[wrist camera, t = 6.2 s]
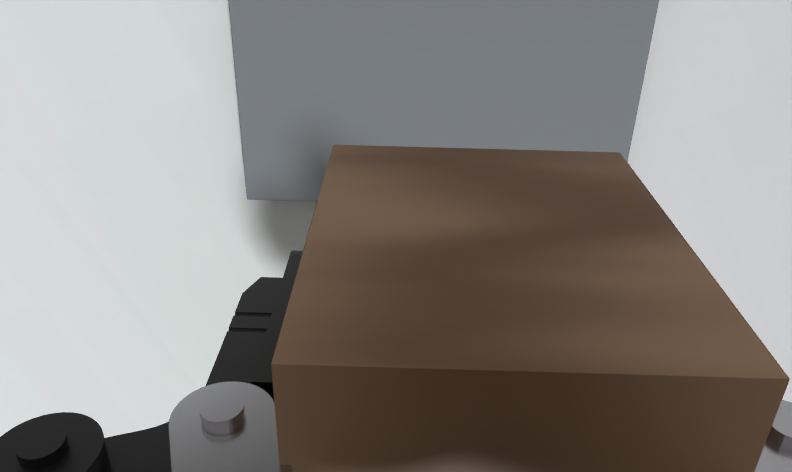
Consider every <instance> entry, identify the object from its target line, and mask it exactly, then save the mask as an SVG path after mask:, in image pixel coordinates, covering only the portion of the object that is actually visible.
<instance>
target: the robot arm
mask: <svg viewBox="0 0 792 472" xmlns="http://www.w3.org/2000/svg"><path fill="white" fill-rule="evenodd" d="M302 254H303V251H292V252H291V254H290V257H289V260H288V263H287V267H286V270H285V273H284V276H283V278H269V277H261V278H260V279H258V280H257V281H256V282H255V283H254V284H253V285H251V286H250V287H249V288H248V289H247V290H246V291H245V292H243V294H242V296H241V299H240V301H239V304H238V306H237V309H236V311H235V316H233V319H232V321H231V324H230V326H229V332H228V331H227V334H226V336H225V339H224V341H223V344H222V346H221V349H220V351H219V354H218V356H217V359H216V361H215V364H214V366H213V369H212V371H211V374H210V376H209V379H208V381H207V384H206V386H205V387H202V388H200V389H198V390H196V391H194V392H192V393H191V394H189V395H188V396H186V397H185V398H184V399H183V400H182V401H180V402H179V404H178V405H177V406H176V407H175V408H174V410H173V412H172V414H171V416H170V420H169V422H167V423H165V424H162V425H159V426H157V427H153V428H150V429H146V430H141V431H136V432H132V433H127V434H122V435H117V436H112V437H108V438H104V435H103V432H102V429H101V427H100V425H99V424H98V423H97V422H96V421H95V420H94V419H92V418H90V417H88V416H85V415H82V414H78V413H65V412H62V413H53V414H48V415H43V416H40V417H37V418H33V419H31V420H28V421H26V422H24V423H22V424H20V425H18V426H16V427H14V428H12V429H11V430H9V431H8V432H6V433H5V434H4V435H2V436H1V437H0V472H293V470H292V466H291V465H282V464H279V452H278V440H277V428H276V416H275V404H274V392H273V380H272V368H271V363H272V359H273V356H274V352H275V349H276V345H277V342H278V338H279V335H280V331H281V328H282V324H283V320H284V317H285V313H286V310H287V306H288V303H289V299H290V296H291V292H292V289H293V285H294V282H295V278H296V275H297V271H298V268H299V264H300V261H301V257H302ZM755 472H792V403H791V402H788V401H784V400H782V401H781V403H780V406H779V409H778V411H777V414H776V416H775V419H774V422H773V424H772V427H771V430H770V432H769V435H768V437H767V440H766V443H765V445H764V448H763V451H762V453H761V456H760V458H759V461H758V464H757V466H756V469H755Z"/></svg>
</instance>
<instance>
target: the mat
mask: <svg viewBox="0 0 792 472" xmlns="http://www.w3.org/2000/svg"><path fill="white" fill-rule="evenodd" d="M658 3H659V0H229V10H230V20H231V31H232V42H233V53H234V64H235V74H236V85H237V96H238V107H239V118H240V128H241V139H242V150H243V161H244V172H245V182H246V193H247V199H251V200H288V201H318V197H319V194H320V190H321V187H322V183H323V180H324V176H325V172H326V169H327V165H328V162H329V158H330V155H331V151H332V148H333V145H365V146H402V147H440V148H477V149H514V150H551V151H589V152H620V154H621V155H622V156H623V158H624V159H625V160H626V162H627V160H628V155H629V150H630V145H631V140H632V135H633V130H634V125H635V120H636V115H637V110H638V104H639V99H640V94H641V89H642V84H643V79H644V74H645V69H646V64H647V59H648V54H649V49H650V43H651V38H652V33H653V28H654V23H655V18H656V13H657V8H658Z"/></svg>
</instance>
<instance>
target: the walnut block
mask: <svg viewBox="0 0 792 472" xmlns="http://www.w3.org/2000/svg"><path fill="white" fill-rule="evenodd" d="M271 368H272V380H273V392H274V404H275V416H276V428H277V440H278V452H279V464H282V465H291V466H292V470H293V472H755V469H756V466H757V464H758V461H759V458H760V456H761V453H762V451H763V448H764V445H765V443H766V440H767V437H768V435H769V432H770V430H771V427H772V424H773V422H774V419H775V416H776V414H777V411H778V409H779V406H780V403H781V401H782V398H783V395H784V393H785V390H786V388H787V385H788V382H789V380H790V379H789V377H788V376H787V375H786V373H785V372H784V371H783V369H782V368H781V367H780V365H779V364H778V363H777V361H776V360H775V359H774V357H773V356H772V355H771V353H770V352H769V351H768V349H767V348H766V347H765V345H764V344H763V343H762V341H761V340H760V339H759V337H758V336H757V335H756V333H755V332H754V331H753V329H752V328H751V327H750V325H749V324H748V323H747V321H746V320H745V319H744V317H743V316H742V315H741V313H740V312H739V311H738V309H737V308H736V307H735V305H734V304H733V303H732V301H731V300H730V299H729V297H728V296H727V295H726V293H725V292H724V291H723V289H722V288H721V287H720V285H719V284H718V283H717V281H716V280H715V279H714V277H713V276H712V275H711V273H710V272H709V271H708V269H707V268H706V267H705V265H704V264H703V263H702V261H701V260H700V259H699V257H698V256H697V255H696V253H695V252H694V251H693V249H692V248H691V247H690V245H689V244H688V243H687V241H686V240H685V239H684V237H683V236H682V235H681V233H680V232H679V231H678V229H677V228H676V227H675V225H674V224H673V223H672V221H671V220H670V219H669V217H668V216H667V215H666V213H665V212H664V211H663V210H662V208H661V207H660V206H659V204H658V203H657V202H656V200H655V199H654V198H653V196H652V195H651V194H650V192H649V191H648V190H647V188H646V187H645V186H644V184H643V183H642V182H641V180H640V179H639V178H638V176H637V175H636V174H635V172H634V171H633V170H632V168H631V167H630V166H629V164H628V163H627V162H626V160H625V159H624V158H623V156H622V155H621V154H620V152H589V151H551V150H514V149H477V148H440V147H402V146H365V145H333V148H332V151H331V155H330V158H329V162H328V165H327V169H326V172H325V176H324V180H323V183H322V187H321V190H320V194H319V197H318V201H317V204H316V208H315V211H314V215H313V218H312V222H311V225H310V229H309V232H308V236H307V239H306V243H305V246H304V250H303V254H302V257H301V261H300V264H299V268H298V271H297V275H296V278H295V282H294V285H293V289H292V292H291V296H290V299H289V303H288V306H287V310H286V313H285V317H284V320H283V324H282V328H281V331H280V335H279V338H278V342H277V345H276V349H275V352H274V356H273V359H272V363H271Z"/></svg>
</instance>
